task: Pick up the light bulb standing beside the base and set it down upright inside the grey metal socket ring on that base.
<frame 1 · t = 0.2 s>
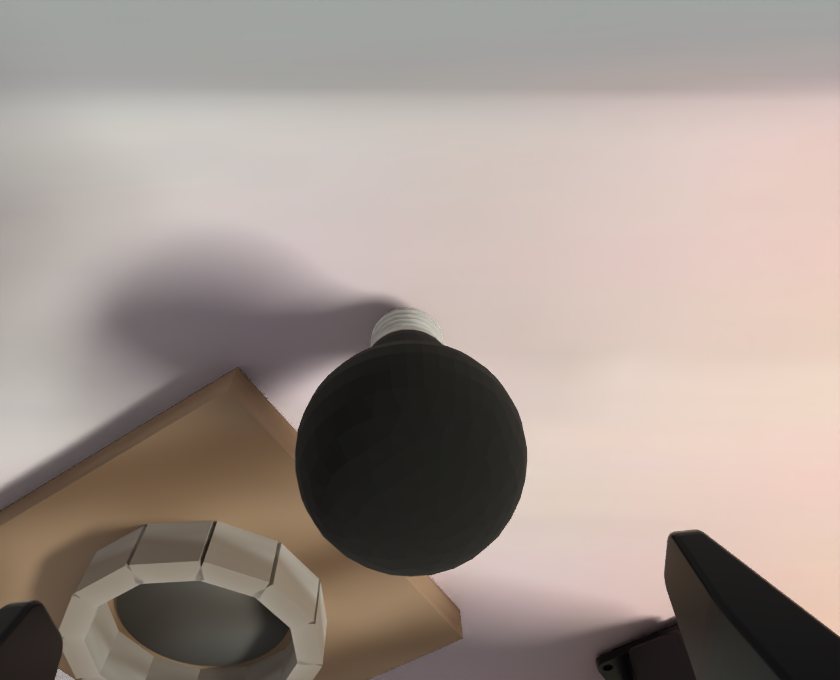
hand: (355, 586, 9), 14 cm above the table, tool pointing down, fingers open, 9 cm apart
socket base: (215, 580, 28), on the table
light bulb: (406, 325, 22), on the table
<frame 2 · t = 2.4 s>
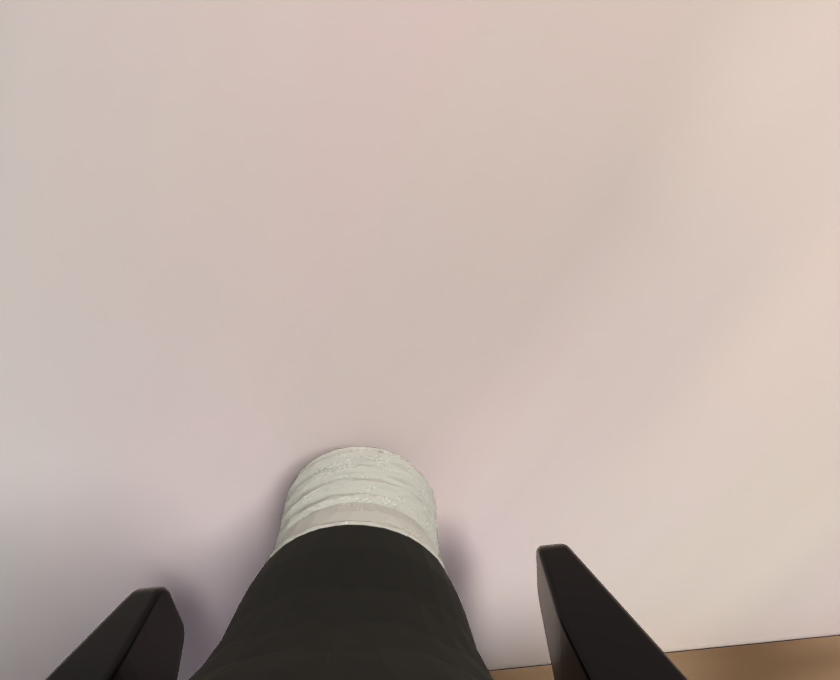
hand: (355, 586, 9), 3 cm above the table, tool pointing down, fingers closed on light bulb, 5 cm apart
light bulb: (364, 463, 11), on the table, touching gripper
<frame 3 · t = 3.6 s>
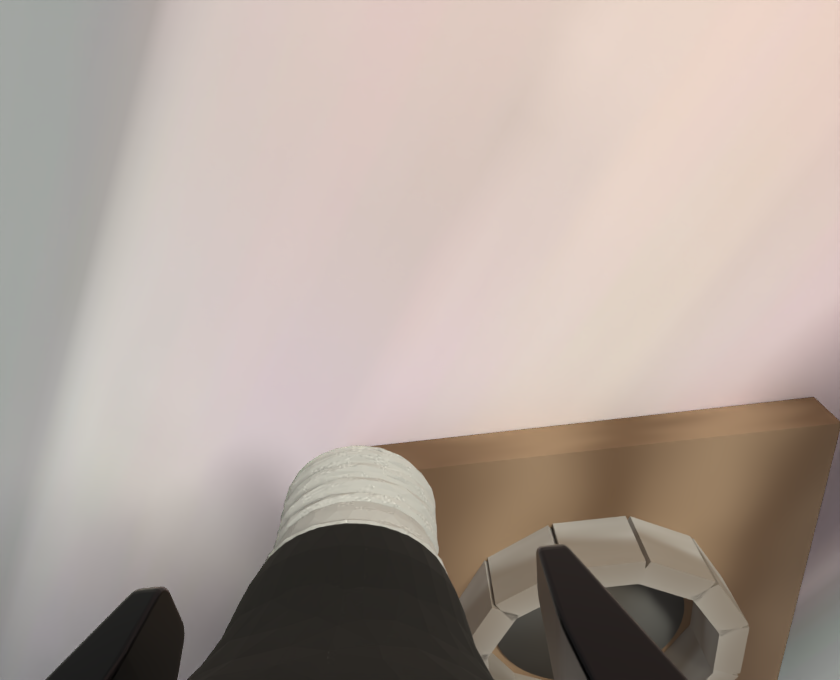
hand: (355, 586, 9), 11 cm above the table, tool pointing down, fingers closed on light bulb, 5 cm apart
socket base: (577, 584, 25), on the table
light bulb: (363, 462, 11), point 8 cm above the table, touching gripper
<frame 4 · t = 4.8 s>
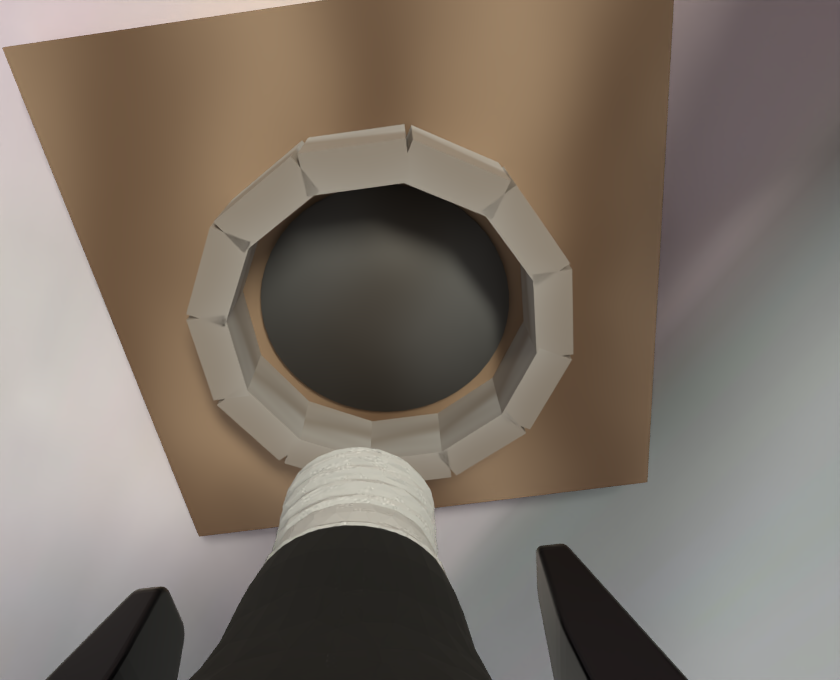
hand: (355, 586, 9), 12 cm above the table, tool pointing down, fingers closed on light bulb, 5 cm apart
socket base: (386, 286, 20), on the table
light bulb: (362, 463, 11), point 9 cm above the table, touching gripper
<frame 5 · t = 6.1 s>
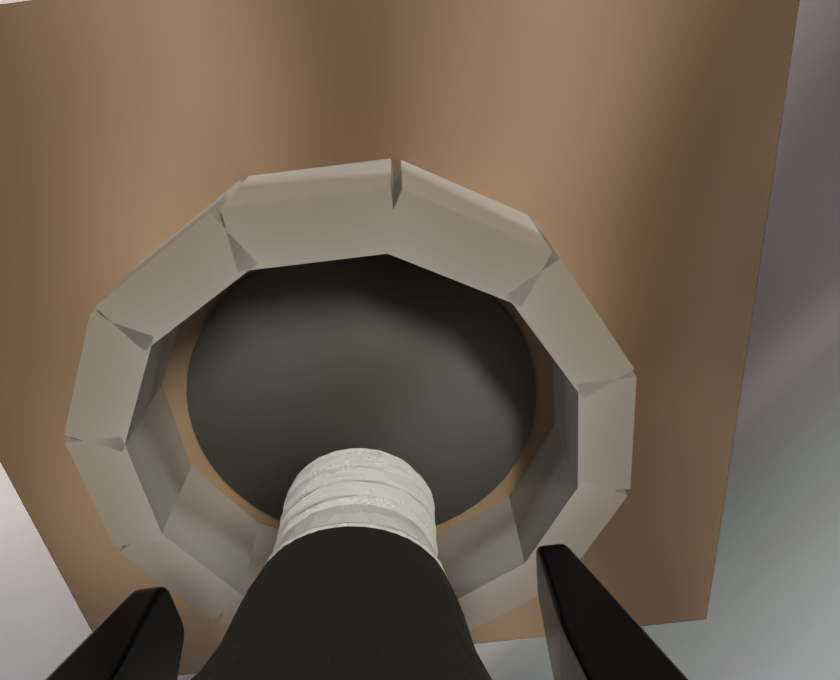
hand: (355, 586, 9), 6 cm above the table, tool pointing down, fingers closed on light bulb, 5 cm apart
socket base: (367, 369, 15), on the table
light bulb: (363, 464, 11), point 4 cm above the table, touching gripper
when the fingers open (5 cm above the table, at t = 7.2 s): light bulb drops 1 cm, resting on socket base.
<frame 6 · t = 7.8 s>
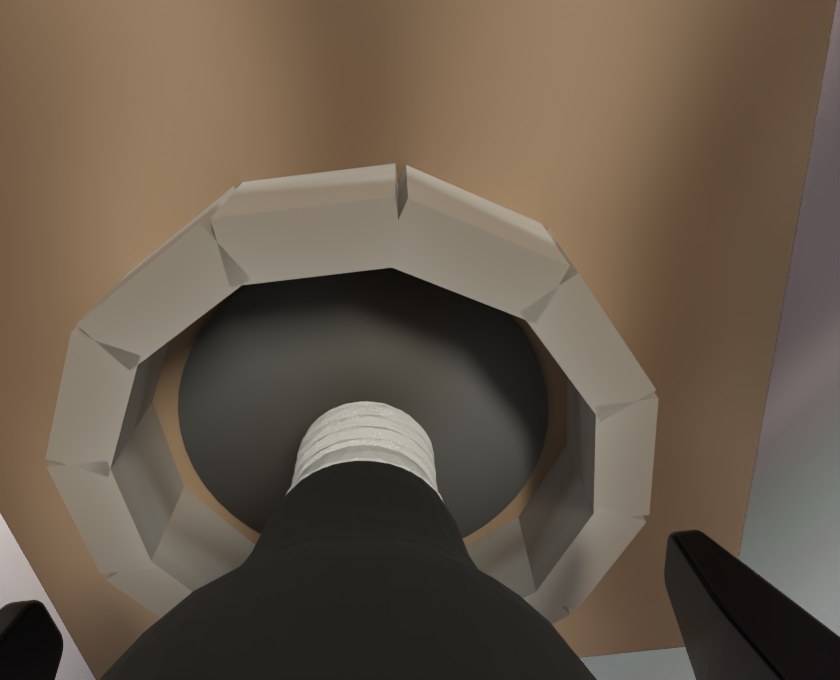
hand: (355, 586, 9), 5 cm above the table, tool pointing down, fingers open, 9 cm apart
socket base: (369, 383, 14), on the table
light bulb: (367, 422, 12), point 2 cm above the table, touching socket base
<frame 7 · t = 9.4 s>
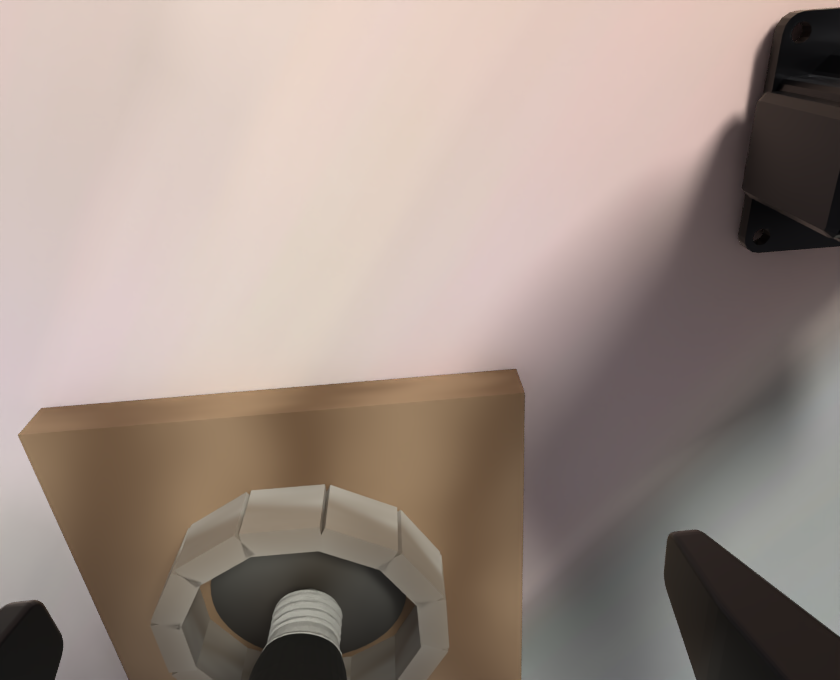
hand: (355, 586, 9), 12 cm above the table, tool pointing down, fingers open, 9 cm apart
socket base: (314, 559, 25), on the table
light bulb: (311, 589, 23), point 2 cm above the table, touching socket base
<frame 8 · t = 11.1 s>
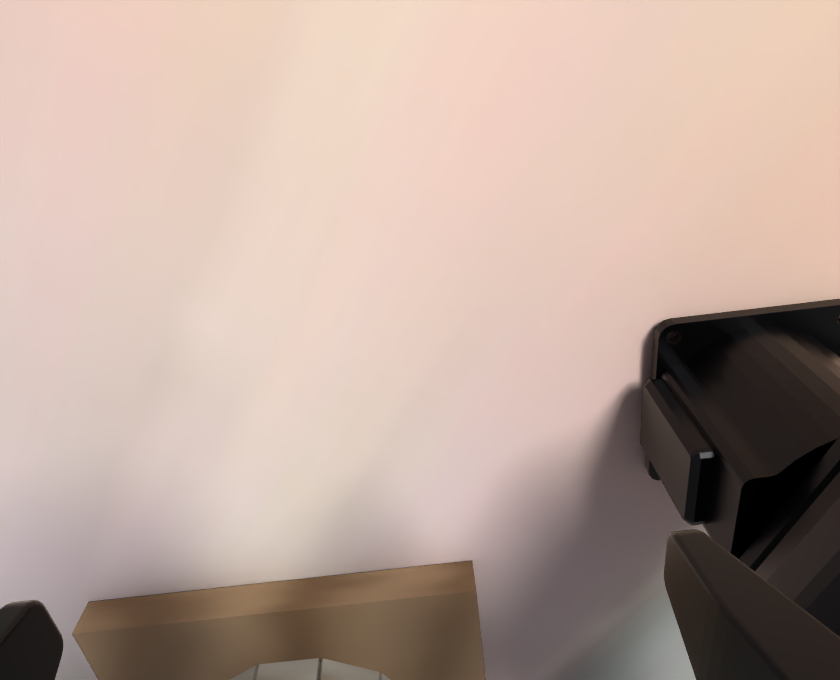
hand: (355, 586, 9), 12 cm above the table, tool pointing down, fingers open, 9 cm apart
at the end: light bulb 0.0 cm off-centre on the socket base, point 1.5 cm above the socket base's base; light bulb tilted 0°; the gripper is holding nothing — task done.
